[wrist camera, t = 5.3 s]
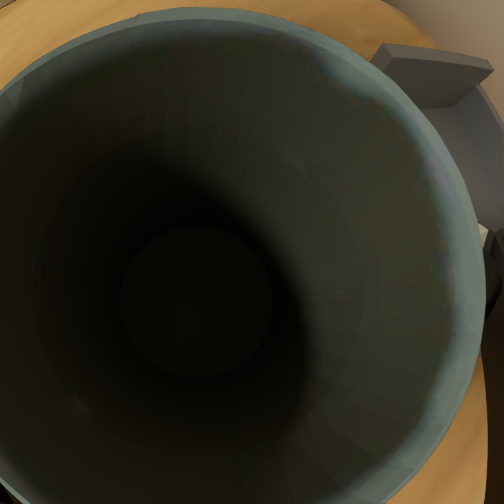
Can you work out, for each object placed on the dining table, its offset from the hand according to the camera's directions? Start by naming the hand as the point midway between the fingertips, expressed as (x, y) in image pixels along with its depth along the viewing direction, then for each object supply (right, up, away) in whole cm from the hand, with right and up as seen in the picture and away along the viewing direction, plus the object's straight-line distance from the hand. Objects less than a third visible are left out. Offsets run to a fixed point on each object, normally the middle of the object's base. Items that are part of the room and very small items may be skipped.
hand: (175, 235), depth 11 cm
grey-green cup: (0, -3, +5) cm, 6 cm away
